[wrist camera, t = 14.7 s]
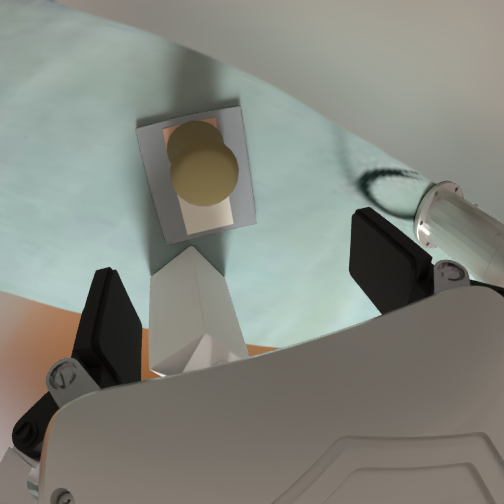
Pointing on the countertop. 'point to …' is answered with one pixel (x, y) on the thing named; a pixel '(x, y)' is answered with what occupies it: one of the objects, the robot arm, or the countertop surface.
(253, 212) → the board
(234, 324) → the milk carton
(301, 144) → the countertop surface
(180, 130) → the cork
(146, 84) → the countertop surface
